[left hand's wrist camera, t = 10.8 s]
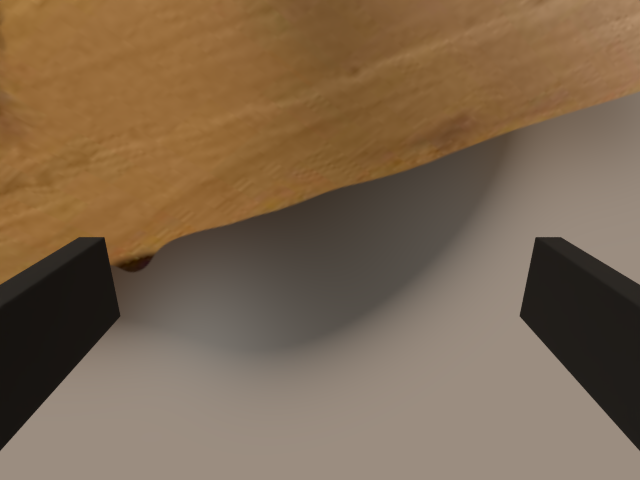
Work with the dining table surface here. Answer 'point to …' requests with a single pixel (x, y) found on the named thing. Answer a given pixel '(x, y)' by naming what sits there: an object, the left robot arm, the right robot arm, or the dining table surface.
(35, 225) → the dining table surface
